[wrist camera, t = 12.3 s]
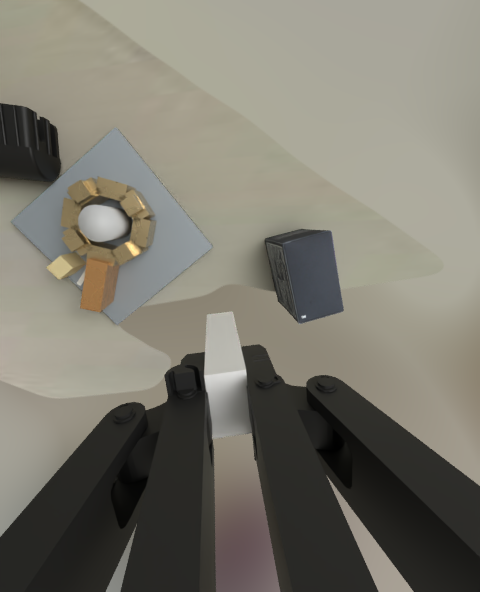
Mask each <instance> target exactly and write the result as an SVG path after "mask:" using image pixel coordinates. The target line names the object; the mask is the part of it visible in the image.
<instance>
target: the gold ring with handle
mask: <svg viewBox="0 0 480 592" xmlns="http://www.w3.org/2000/svg"><path fill="white" fill-rule="evenodd" d="M67 189H68V190H69V191H68V192H67V193H68V194H69V196H70V197H71V198H72V199H70V198H64V199H63V208H62V217H61V226H63V227H67V228H69V229H67V230H66V231H64V232H62V233H63V234H64V235H65V236H64V237H62V238H61V239H62V240H63V241H64V243H65V244H66V245H67V246H68V248H69V249H70V250H71V252H73V251H77V252H78V254H79V255H80V256H84V255H87V258H86V260H87V263H86V270H85V277H84V284H83V292H82V299H81V306H80V308H82V309H87V310H91V311H96V312H101V311H102V310H104V309H105V308H106V307H107V306H108V305H110V304H111V303H112V302H113V301H114V296H115V290H116V284H117V278H118V272H119V266H121V265H123V264H125V263H127V262H129V261H131V260H132V259H134V258H136V257H137V256H139V255H141V254H142V253H144V252H146V251H147V250H149V248H148V246H151V245H152V244H153V239H154V234H155V228H156V223H157V221H155V220H151V219H150V218H152V217H154V216H155V213H154V212H153V210H152V209H151V207H150V205H149V204H148V202H147V201H146V199H145V198H144V196H143V194H142V193H141V192H139V191H136V188H133V187H131V186H129V185H126V184H123V183H119V182H116V181H112V180H109V179H105V178H102V177H98V178H97V179H95V178H92V177H90V178H89V179H87V180H86V181H83V180H79V181H77V182H76V183H74V184H73V185H71V186H69V187H68V188H67ZM110 198H111V199H115V200H119V201H121V202H119V203H120V204H121V206H122V207H123V209H124V210H125V212H126V213H127V215H128V216H129V217H132V219H133V225H132V231H131V236H130V240H129V241H127V242H126V243H124V244H122V245H121V246H116V245H112V244H108V243H104V242H96V241H92V240H90V239H88V238H87V237H86V236H85V235H84V234H83V233H82V232H81V230H80V228H79V225H78V217H79V214H80V212H81V211H82V210H83V209H84V208H85V207H87V206H89V205H100V204H102V203H103V202H105V201H107V200H108V199H110Z"/></svg>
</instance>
